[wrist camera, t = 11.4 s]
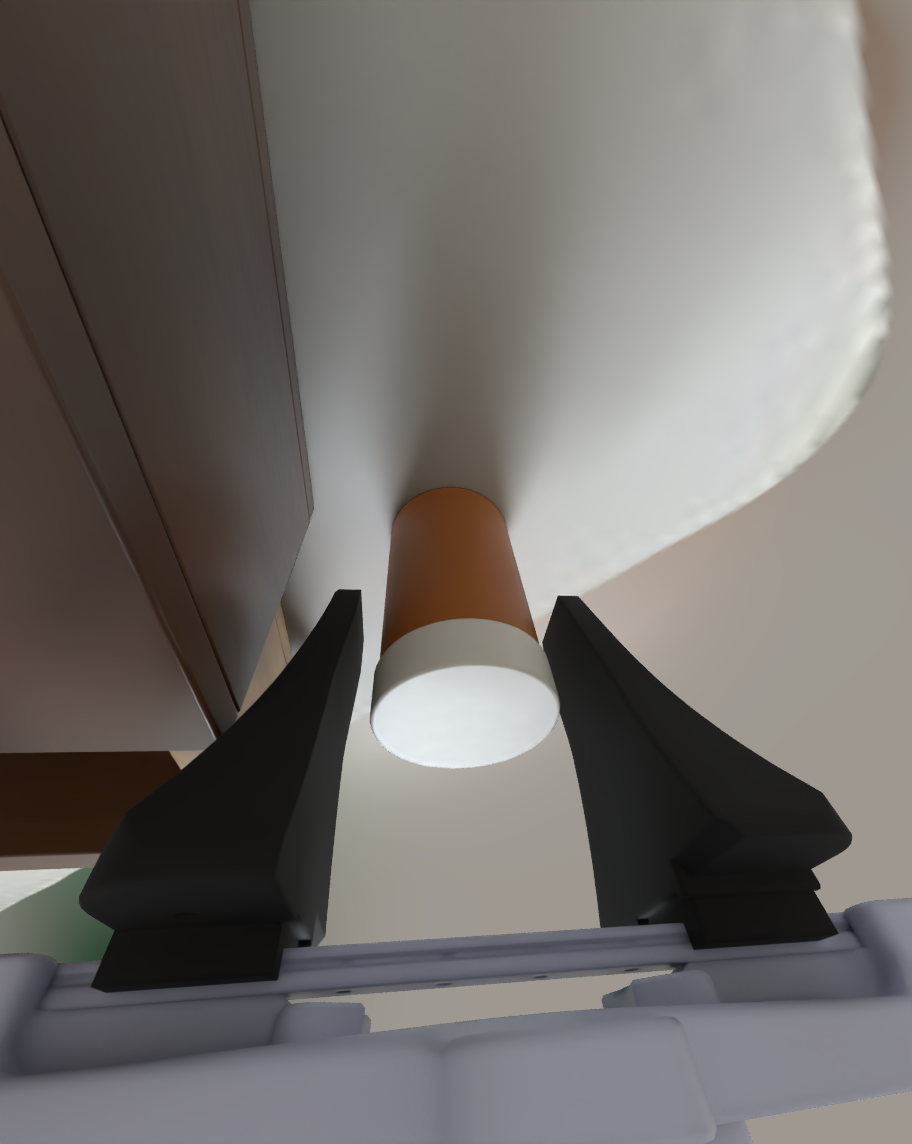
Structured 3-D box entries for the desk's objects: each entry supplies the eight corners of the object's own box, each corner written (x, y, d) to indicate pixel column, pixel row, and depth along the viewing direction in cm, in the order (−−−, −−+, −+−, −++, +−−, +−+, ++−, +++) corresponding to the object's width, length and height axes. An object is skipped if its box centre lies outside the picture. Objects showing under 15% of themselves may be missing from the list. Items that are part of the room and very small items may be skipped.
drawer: (326, 734, 22) (297, 897, 17) (37, 736, 20) (-96, 916, 15) (266, 383, 11) (126, 529, 6) (-359, 332, 10) (-1313, 468, 4)
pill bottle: (388, 581, 17) (372, 771, 11) (388, 480, 14) (366, 662, 8) (498, 585, 17) (538, 768, 11) (519, 487, 14) (585, 664, 9)
